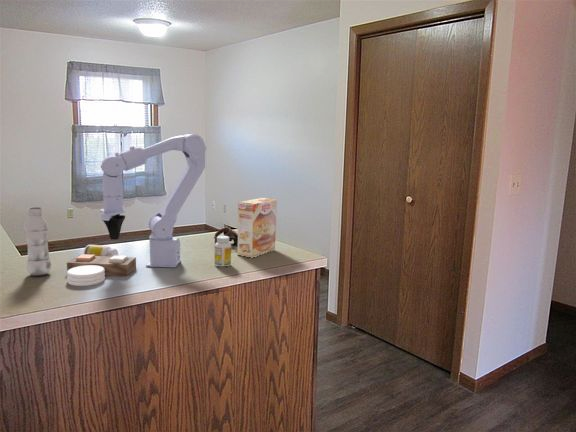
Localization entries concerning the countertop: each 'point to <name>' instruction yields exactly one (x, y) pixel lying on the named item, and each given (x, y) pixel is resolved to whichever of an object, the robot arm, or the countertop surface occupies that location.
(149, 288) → the countertop surface
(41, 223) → the plastic bottle
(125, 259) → the key offwhite
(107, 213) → the robot arm
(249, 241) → the coffeecake box
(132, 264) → the switch box
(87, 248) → the supplement bottle
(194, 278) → the countertop surface
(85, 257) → the key terracotta
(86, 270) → the coaster
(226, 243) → the supplement bottle
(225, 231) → the dark brown tangled clump
